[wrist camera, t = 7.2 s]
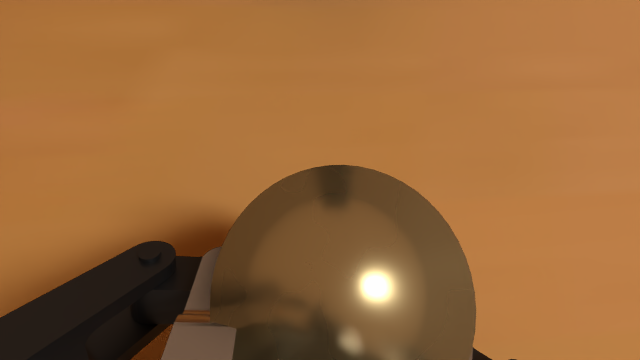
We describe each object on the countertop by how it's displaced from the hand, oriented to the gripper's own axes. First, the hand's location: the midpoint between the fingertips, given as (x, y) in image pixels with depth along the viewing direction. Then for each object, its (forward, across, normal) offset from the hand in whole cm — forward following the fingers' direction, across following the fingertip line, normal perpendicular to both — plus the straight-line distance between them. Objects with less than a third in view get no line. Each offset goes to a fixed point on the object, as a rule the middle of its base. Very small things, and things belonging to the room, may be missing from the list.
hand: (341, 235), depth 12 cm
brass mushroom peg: (+2, 0, +4) cm, 5 cm away
